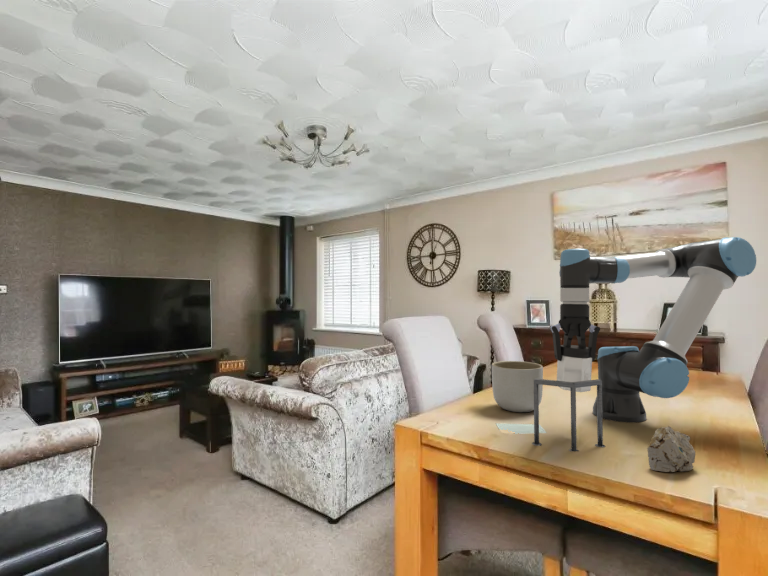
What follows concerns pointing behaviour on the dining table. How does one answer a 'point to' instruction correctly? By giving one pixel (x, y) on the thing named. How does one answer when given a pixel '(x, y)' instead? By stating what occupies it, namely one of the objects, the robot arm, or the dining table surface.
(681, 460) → the rock
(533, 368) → the planter
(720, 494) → the dining table surface
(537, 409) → the metal railing
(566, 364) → the jar
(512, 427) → the pad
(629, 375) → the robot arm
